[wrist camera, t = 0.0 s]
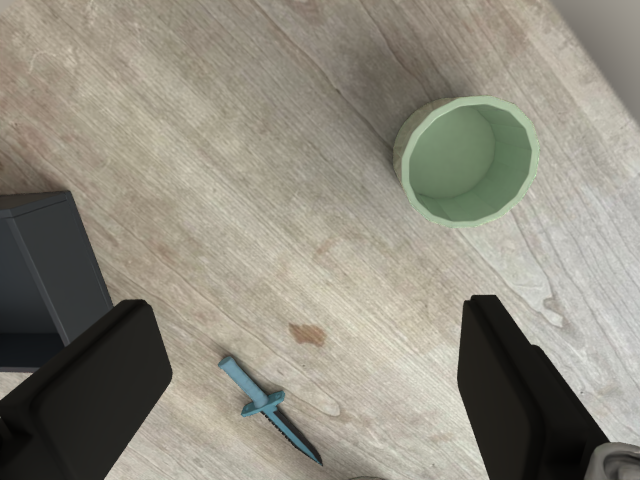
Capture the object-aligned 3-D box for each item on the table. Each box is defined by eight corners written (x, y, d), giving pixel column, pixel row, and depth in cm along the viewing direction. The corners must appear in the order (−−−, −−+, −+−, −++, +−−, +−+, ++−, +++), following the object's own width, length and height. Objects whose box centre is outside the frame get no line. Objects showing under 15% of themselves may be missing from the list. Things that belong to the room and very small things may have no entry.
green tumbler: (392, 103, 21) (401, 102, 16) (503, 92, 21) (550, 89, 15) (392, 203, 24) (401, 230, 19) (491, 198, 23) (528, 225, 18)
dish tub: (-75, 200, 29) (-160, 218, 24) (70, 190, 27) (8, 209, 22) (-1, 334, 34) (-60, 371, 29) (124, 334, 32) (83, 374, 27)
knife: (342, 466, 35) (303, 478, 36) (342, 454, 36) (304, 467, 37) (240, 357, 29) (200, 376, 31) (244, 347, 30) (205, 366, 32)
